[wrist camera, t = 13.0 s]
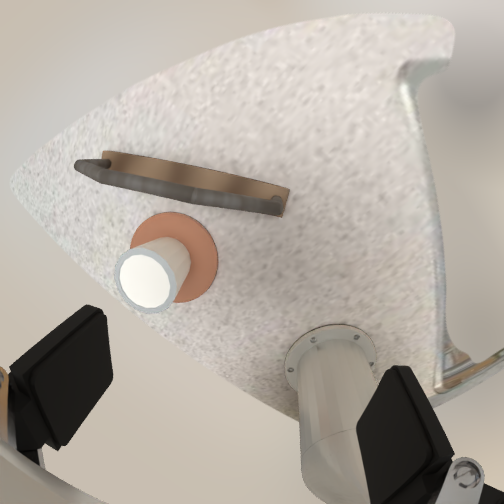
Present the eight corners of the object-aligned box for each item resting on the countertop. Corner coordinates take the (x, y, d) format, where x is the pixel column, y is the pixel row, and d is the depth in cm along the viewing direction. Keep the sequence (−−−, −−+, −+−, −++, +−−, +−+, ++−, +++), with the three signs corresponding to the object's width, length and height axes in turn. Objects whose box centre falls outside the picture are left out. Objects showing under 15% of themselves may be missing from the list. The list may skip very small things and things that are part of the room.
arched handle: (288, 188, 30) (296, 200, 19) (281, 215, 31) (284, 242, 20) (109, 150, 30) (45, 150, 19) (105, 174, 31) (41, 182, 20)
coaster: (236, 273, 33) (235, 275, 32) (167, 313, 36) (165, 316, 35) (182, 193, 31) (180, 193, 30) (117, 244, 34) (114, 245, 33)
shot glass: (169, 297, 34) (147, 326, 27) (132, 256, 33) (102, 276, 26) (208, 264, 32) (191, 289, 26) (168, 219, 31) (140, 232, 25)
